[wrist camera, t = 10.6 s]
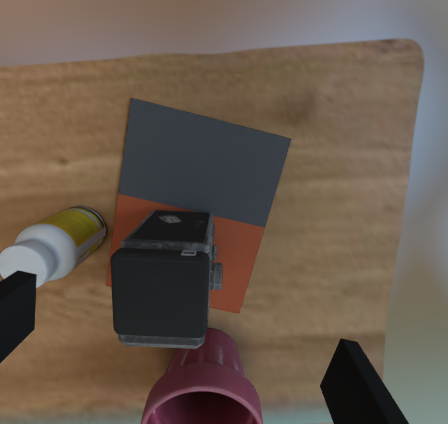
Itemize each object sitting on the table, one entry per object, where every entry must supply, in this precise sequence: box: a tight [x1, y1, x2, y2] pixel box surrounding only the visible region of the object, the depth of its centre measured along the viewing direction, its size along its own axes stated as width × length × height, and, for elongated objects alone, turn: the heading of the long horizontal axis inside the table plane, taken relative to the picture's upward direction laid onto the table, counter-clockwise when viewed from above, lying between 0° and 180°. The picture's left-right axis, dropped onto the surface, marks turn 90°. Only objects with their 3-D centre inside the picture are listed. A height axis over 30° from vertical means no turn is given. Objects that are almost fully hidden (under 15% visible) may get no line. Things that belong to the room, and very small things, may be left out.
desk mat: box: [106, 98, 291, 314], centre depth 36 cm, size 20×26×1 cm
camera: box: [110, 210, 223, 349], centre depth 29 cm, size 10×11×15 cm
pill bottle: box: [0, 207, 106, 288], centre depth 31 cm, size 6×6×12 cm
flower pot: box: [141, 328, 263, 424], centre depth 36 cm, size 14×14×13 cm
